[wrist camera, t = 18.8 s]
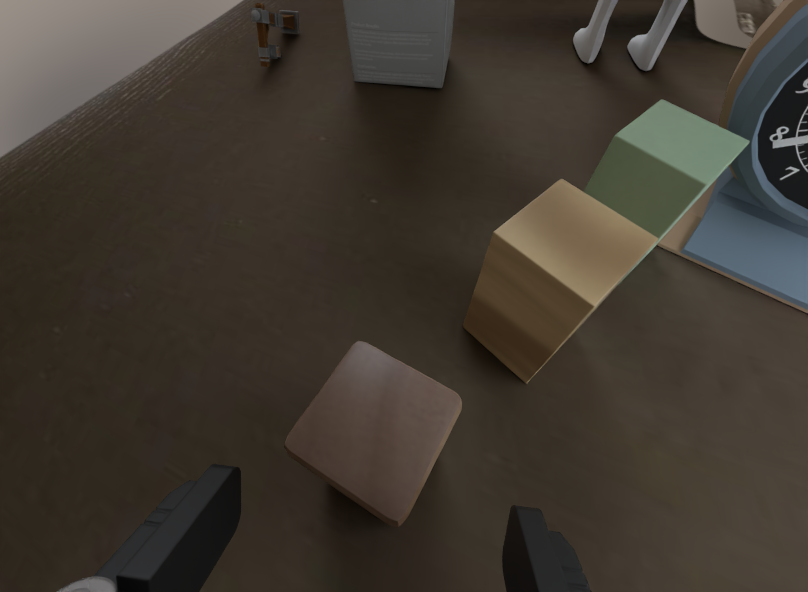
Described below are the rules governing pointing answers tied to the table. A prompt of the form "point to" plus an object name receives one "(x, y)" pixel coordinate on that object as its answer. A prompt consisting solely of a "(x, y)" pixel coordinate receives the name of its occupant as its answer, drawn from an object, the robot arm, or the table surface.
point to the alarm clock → (760, 170)
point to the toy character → (639, 47)
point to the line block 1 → (550, 275)
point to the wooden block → (375, 431)
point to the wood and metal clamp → (266, 19)
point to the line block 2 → (662, 167)
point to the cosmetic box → (399, 40)
